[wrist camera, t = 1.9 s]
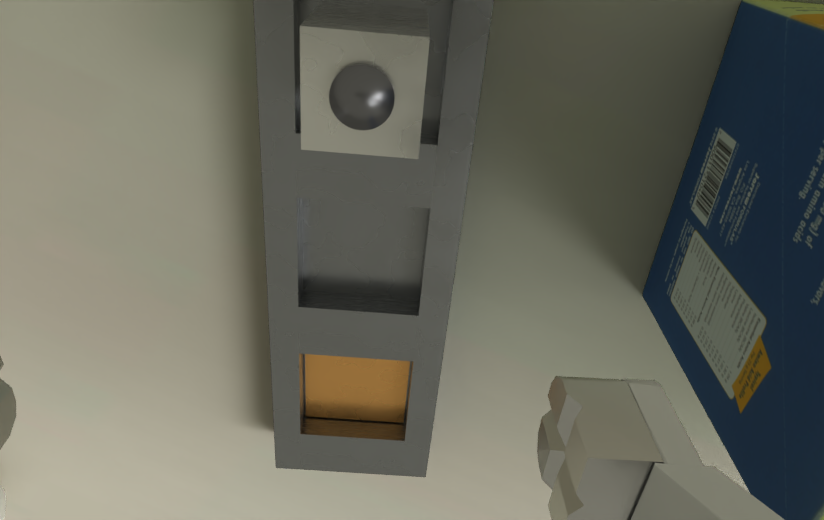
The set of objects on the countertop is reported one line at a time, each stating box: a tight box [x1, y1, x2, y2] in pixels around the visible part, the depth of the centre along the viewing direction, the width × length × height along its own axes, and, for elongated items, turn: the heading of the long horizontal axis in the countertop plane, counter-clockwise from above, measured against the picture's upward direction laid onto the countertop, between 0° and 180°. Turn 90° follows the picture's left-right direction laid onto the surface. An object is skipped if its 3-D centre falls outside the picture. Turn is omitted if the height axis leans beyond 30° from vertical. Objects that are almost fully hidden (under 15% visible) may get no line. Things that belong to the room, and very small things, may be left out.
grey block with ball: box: [300, 0, 430, 159], centre depth 23 cm, size 4×4×6 cm
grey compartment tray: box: [253, 0, 494, 477], centre depth 30 cm, size 9×30×2 cm, turn 175°
